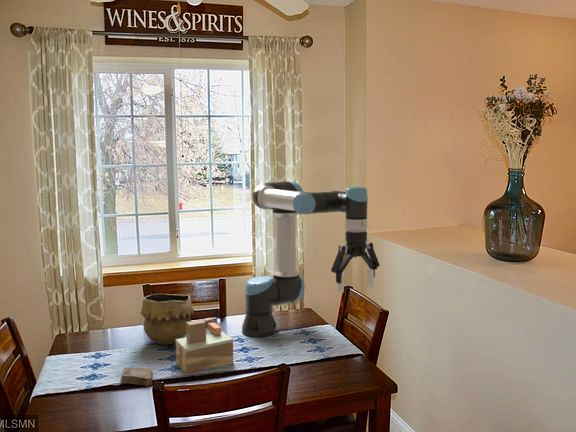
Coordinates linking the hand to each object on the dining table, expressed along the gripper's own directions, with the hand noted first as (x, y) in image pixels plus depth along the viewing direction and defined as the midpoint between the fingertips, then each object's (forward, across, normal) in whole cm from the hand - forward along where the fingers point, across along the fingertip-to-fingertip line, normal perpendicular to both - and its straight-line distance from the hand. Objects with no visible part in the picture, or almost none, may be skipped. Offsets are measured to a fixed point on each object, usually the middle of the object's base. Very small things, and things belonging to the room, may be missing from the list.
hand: (355, 289), depth 177 cm
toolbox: (+28, -46, +30) cm, 62 cm away
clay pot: (+28, -51, +57) cm, 82 cm away
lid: (+20, -46, +30) cm, 59 cm away
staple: (+28, -40, +40) cm, 63 cm away
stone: (+29, -71, +30) cm, 82 cm away
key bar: (+19, -40, +37) cm, 58 cm away
